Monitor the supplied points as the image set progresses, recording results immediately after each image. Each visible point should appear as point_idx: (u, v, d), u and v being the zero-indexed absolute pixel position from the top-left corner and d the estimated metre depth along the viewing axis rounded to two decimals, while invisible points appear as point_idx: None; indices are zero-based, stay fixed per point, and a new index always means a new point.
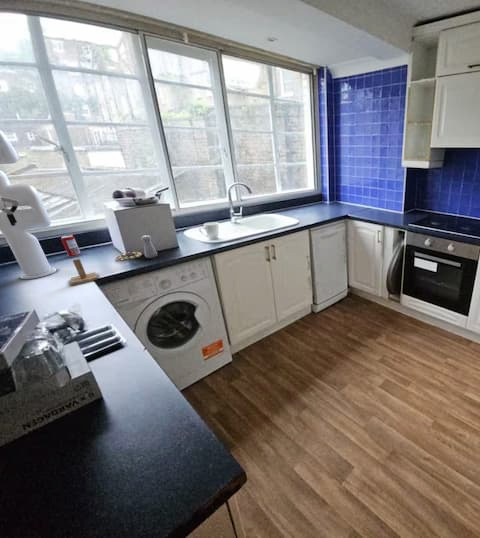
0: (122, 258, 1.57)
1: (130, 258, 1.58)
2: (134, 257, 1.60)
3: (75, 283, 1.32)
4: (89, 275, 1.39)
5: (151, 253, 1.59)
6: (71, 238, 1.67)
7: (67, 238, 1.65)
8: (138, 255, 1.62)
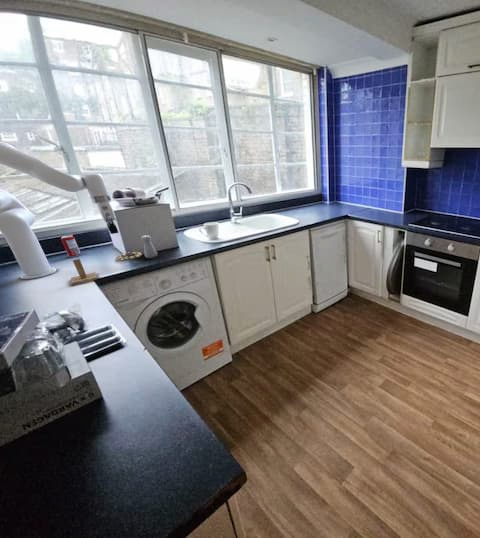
0: (122, 258, 1.57)
1: (130, 258, 1.58)
2: (134, 257, 1.60)
3: (75, 283, 1.32)
4: (89, 275, 1.39)
5: (151, 253, 1.59)
6: (71, 238, 1.67)
7: (67, 238, 1.65)
8: (138, 255, 1.62)
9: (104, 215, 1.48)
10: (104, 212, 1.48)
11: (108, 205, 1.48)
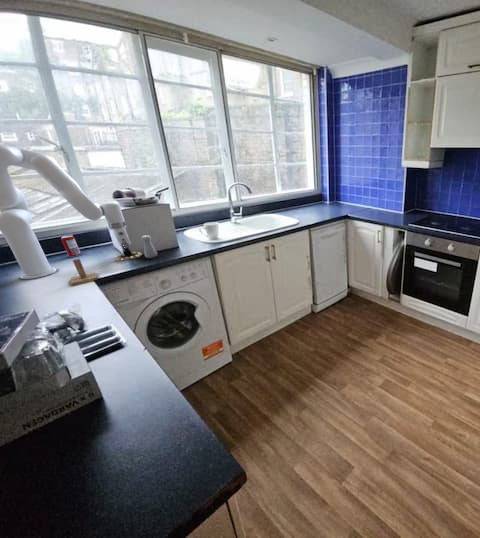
0: (122, 258, 1.57)
1: (130, 258, 1.59)
2: (134, 257, 1.60)
3: (75, 283, 1.32)
4: (89, 275, 1.39)
5: (151, 253, 1.59)
6: (71, 238, 1.67)
7: (67, 238, 1.65)
8: (138, 255, 1.62)
9: (120, 240, 1.58)
10: (120, 237, 1.58)
11: (124, 231, 1.58)
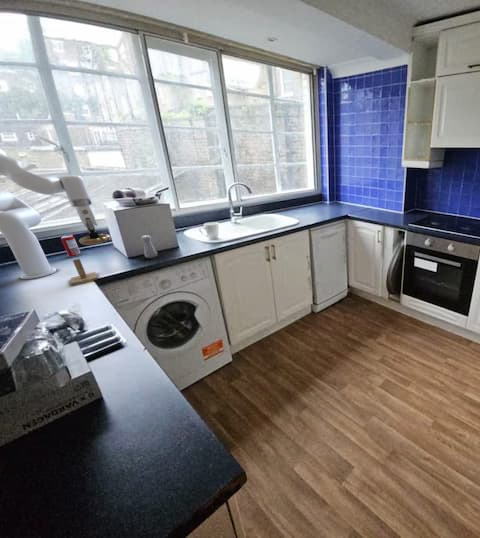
0: (86, 240, 1.38)
1: (96, 240, 1.39)
2: (101, 239, 1.41)
3: (75, 283, 1.32)
4: (89, 275, 1.39)
5: (151, 253, 1.59)
6: (71, 238, 1.67)
7: (67, 238, 1.65)
8: (106, 237, 1.43)
9: (84, 220, 1.38)
10: (84, 216, 1.38)
11: (88, 209, 1.39)
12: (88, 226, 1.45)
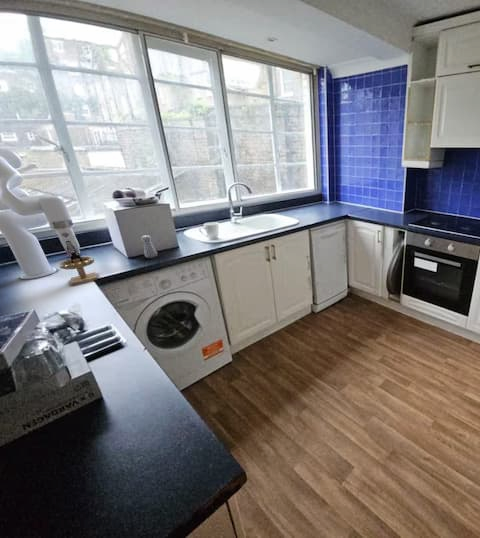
0: (66, 264, 1.29)
1: (77, 265, 1.30)
2: (82, 263, 1.32)
3: (75, 283, 1.32)
4: (89, 275, 1.39)
5: (151, 253, 1.59)
6: None
7: None
8: (88, 261, 1.34)
9: (64, 243, 1.30)
10: (64, 239, 1.29)
11: (69, 231, 1.30)
12: None
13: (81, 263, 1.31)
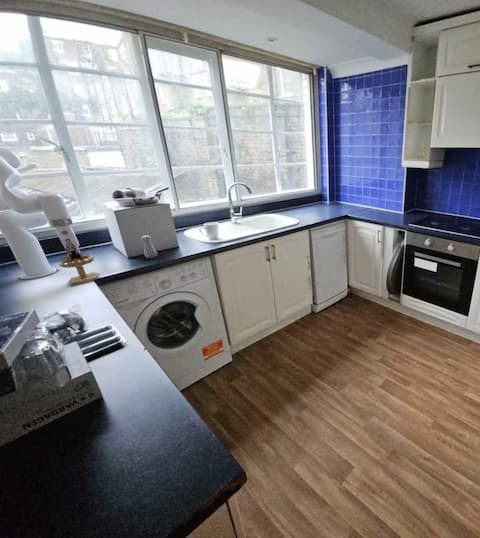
0: (66, 263, 1.29)
1: (76, 263, 1.30)
2: (82, 261, 1.31)
3: (75, 283, 1.32)
4: (89, 275, 1.39)
5: (151, 253, 1.59)
6: None
7: None
8: (87, 259, 1.33)
9: (64, 241, 1.29)
10: (64, 237, 1.29)
11: (68, 229, 1.30)
12: None
13: (81, 261, 1.31)
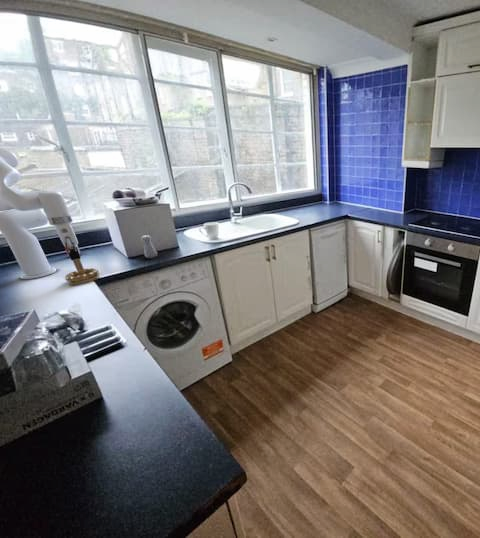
0: (72, 277, 1.32)
1: (82, 277, 1.33)
2: (87, 275, 1.34)
3: (75, 283, 1.32)
4: None
5: (151, 253, 1.59)
6: None
7: None
8: (92, 273, 1.36)
9: (63, 239, 1.30)
10: (63, 235, 1.29)
11: (68, 227, 1.30)
12: None
13: (86, 275, 1.34)
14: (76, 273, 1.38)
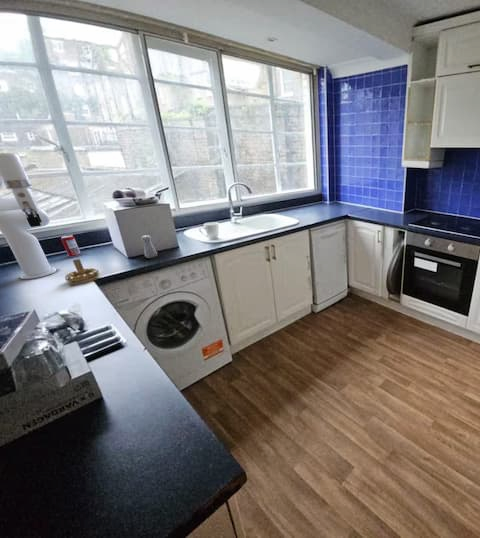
0: (72, 277, 1.32)
1: (82, 277, 1.33)
2: (87, 275, 1.34)
3: (75, 283, 1.32)
4: None
5: (151, 253, 1.59)
6: (71, 238, 1.67)
7: (67, 238, 1.65)
8: (92, 273, 1.36)
9: (20, 204, 1.22)
10: (20, 200, 1.22)
11: (26, 192, 1.22)
12: None
13: (86, 275, 1.34)
14: (76, 273, 1.38)
